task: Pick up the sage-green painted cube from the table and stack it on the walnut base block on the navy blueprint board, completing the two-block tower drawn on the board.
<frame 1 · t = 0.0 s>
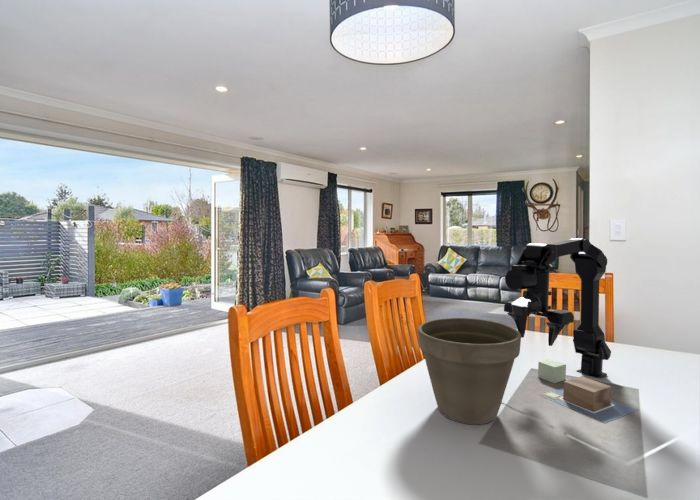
hand: (535, 341, 114), 15 cm above the table, fingers open, 9 cm apart
blueprint board: (586, 403, 107), on the table
walnut base block: (586, 402, 107), resting on blueprint board
plant pot: (465, 412, 102), on the table
sage cube: (551, 380, 123), on the table
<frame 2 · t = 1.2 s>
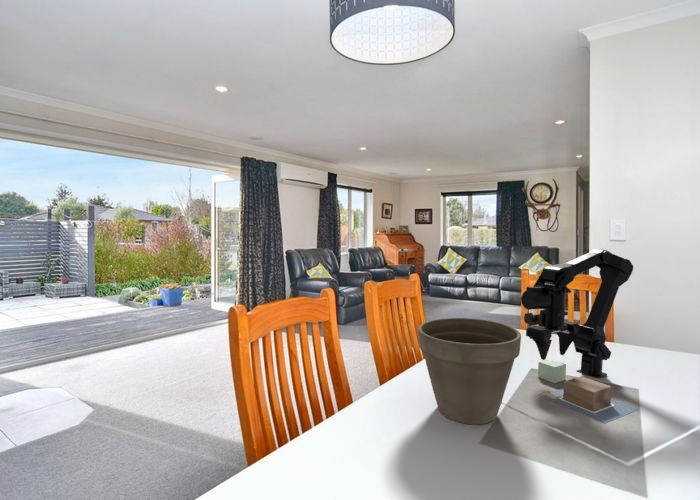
hand: (552, 357, 123), 7 cm above the table, fingers open, 9 cm apart
nothing on the table moved.
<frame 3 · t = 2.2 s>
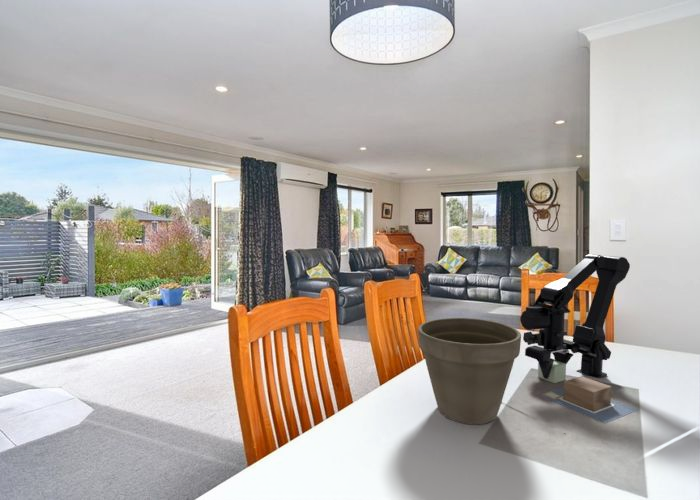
hand: (551, 376, 123), 1 cm above the table, fingers closed on sage cube, 5 cm apart
sage cube: (551, 379, 123), on the table, touching gripper
everything else where it was.
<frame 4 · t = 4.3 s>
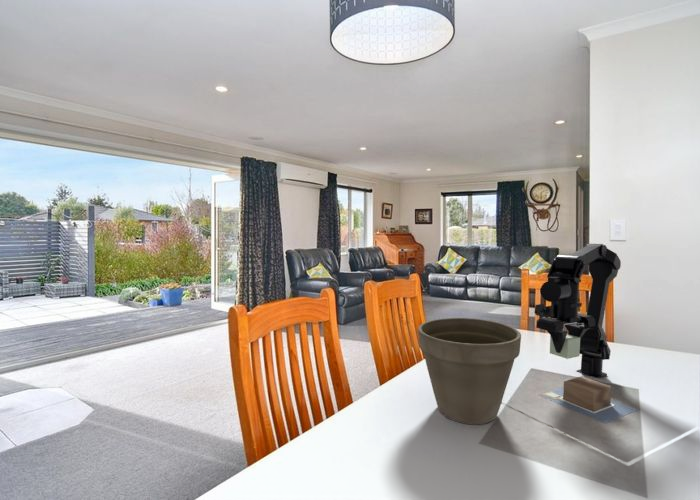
hand: (564, 351, 116), 11 cm above the table, fingers closed on sage cube, 5 cm apart
sage cube: (564, 354, 116), point 10 cm above the table, touching gripper
everything else where it was.
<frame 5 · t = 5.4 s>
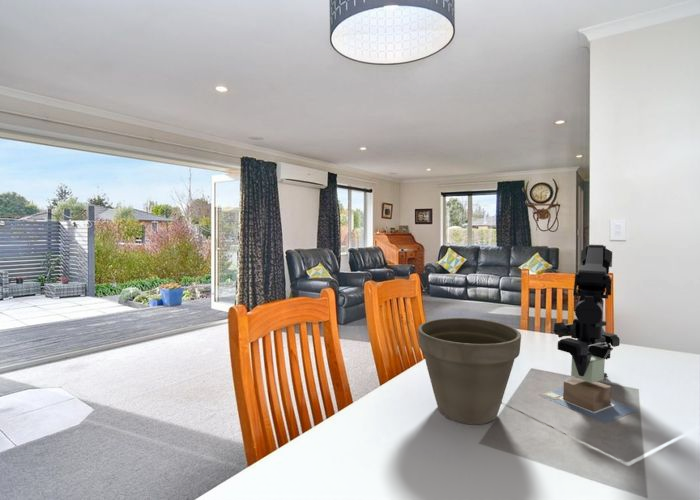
hand: (587, 373, 106), 8 cm above the table, fingers closed on sage cube, 5 cm apart
sage cube: (587, 377, 106), point 7 cm above the table, touching gripper
everything else where it was.
when the fingers open (7 cm above the table, at t = 6.3 s): sage cube stays where it is, resting on walnut base block.
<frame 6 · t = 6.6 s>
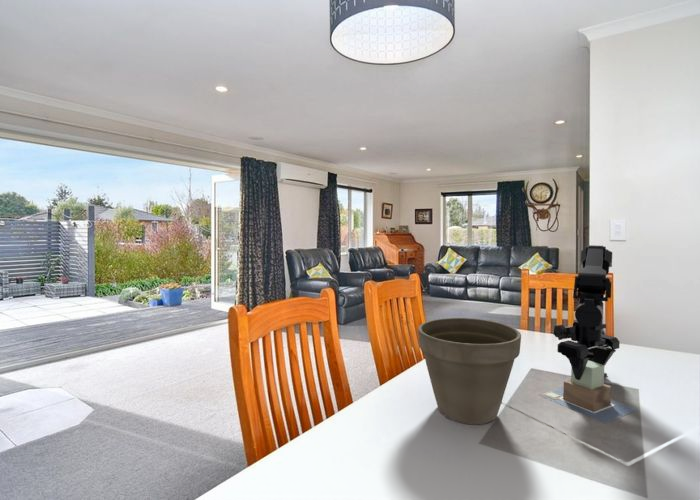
hand: (587, 376, 106), 7 cm above the table, fingers open, 8 cm apart
walnut base block: (586, 402, 107), resting on blueprint board, touching sage cube
sage cube: (587, 383, 106), point 5 cm above the table, touching walnut base block
everything else where it was.
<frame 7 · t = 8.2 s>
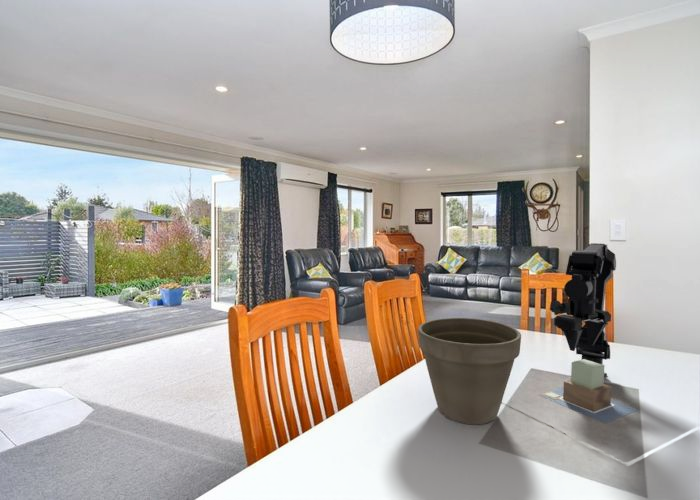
hand: (581, 347, 114), 13 cm above the table, fingers open, 9 cm apart
nothing on the table moved.
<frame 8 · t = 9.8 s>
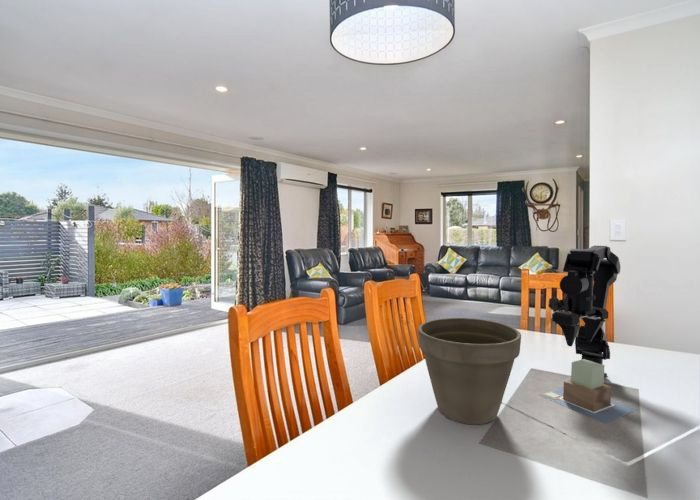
hand: (579, 343, 117), 13 cm above the table, fingers open, 9 cm apart
nothing on the table moved.
at the end: sage cube 0.1 cm off-centre on the walnut base block, point 5.0 cm above the walnut base block's base; walnut base block 0.0 cm off-centre on the blueprint board, point 0.5 cm above the blueprint board's base; sage cube tilted 0° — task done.
